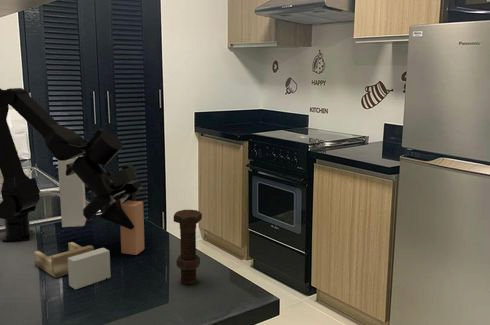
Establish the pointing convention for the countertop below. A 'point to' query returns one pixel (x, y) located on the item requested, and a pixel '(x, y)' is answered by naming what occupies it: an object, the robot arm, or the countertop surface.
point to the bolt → (188, 244)
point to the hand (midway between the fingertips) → (137, 225)
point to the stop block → (89, 268)
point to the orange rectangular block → (133, 238)
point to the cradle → (59, 259)
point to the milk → (71, 196)
